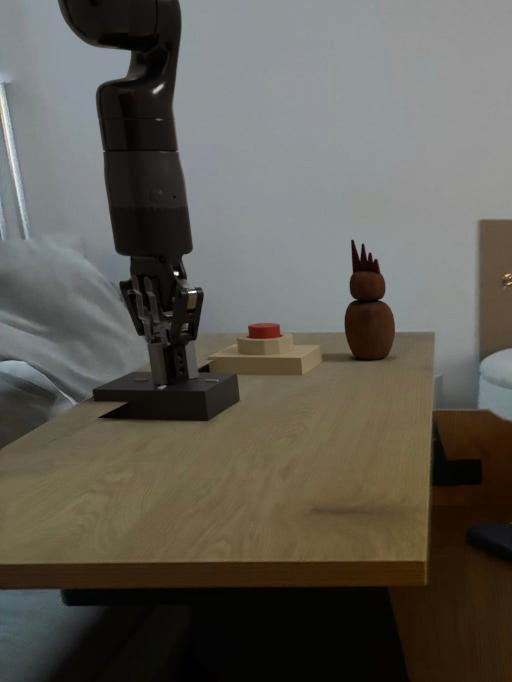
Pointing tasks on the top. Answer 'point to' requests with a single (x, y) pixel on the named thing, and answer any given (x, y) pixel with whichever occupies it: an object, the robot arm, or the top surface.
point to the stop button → (264, 330)
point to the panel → (169, 397)
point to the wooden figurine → (368, 310)
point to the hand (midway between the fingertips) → (172, 380)
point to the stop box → (266, 357)
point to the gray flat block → (159, 363)
